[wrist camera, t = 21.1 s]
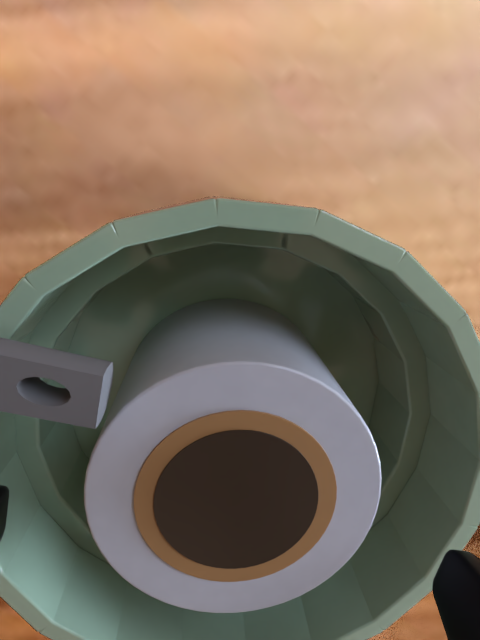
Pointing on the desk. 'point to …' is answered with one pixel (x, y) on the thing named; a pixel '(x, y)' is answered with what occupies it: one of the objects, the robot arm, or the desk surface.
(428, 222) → the desk surface
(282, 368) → the tape roll
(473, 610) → the robot arm
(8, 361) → the saucepan
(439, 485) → the bowl
